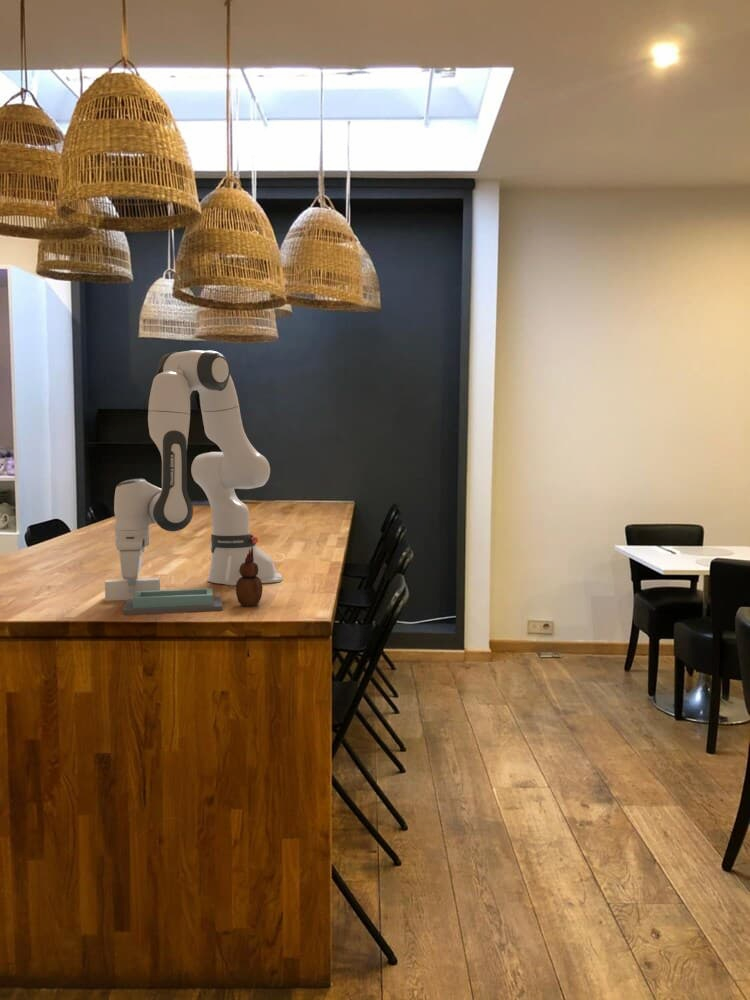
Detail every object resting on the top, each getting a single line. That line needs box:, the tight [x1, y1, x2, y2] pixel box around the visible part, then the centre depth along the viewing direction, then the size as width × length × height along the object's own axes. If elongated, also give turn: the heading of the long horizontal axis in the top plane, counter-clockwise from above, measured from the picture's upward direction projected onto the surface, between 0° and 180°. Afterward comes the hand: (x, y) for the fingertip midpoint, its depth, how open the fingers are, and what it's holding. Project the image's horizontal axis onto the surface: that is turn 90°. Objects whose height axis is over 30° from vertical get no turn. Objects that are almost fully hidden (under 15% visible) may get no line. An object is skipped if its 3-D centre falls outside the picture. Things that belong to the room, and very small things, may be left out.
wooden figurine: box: [235, 547, 263, 607], centre depth 197 cm, size 7×6×15 cm
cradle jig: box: [122, 587, 223, 615], centre depth 195 cm, size 24×13×4 cm, turn 103°
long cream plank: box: [104, 577, 161, 602], centre depth 205 cm, size 14×4×5 cm, turn 105°
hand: (133, 590), depth 205 cm, fingers closed on long cream plank, 4 cm apart
